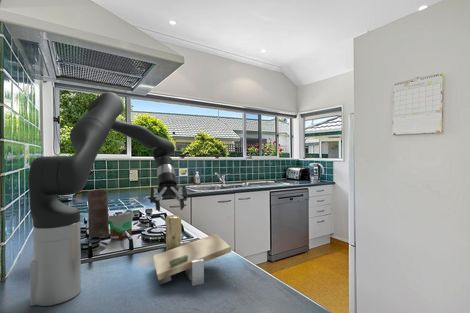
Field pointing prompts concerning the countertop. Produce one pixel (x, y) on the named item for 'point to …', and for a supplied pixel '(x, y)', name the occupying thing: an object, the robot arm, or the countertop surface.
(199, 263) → the board stand
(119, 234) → the food container
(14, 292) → the countertop surface
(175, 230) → the cylinder
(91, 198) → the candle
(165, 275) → the tilting board
